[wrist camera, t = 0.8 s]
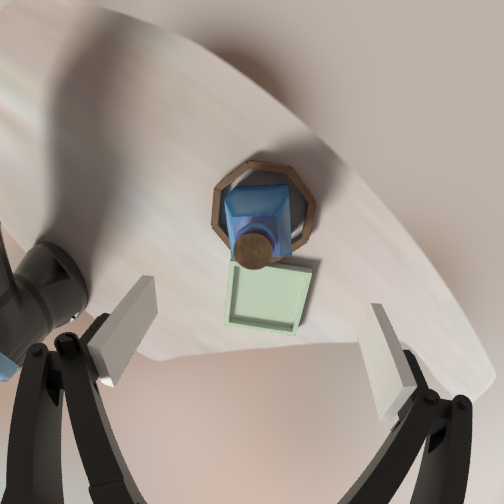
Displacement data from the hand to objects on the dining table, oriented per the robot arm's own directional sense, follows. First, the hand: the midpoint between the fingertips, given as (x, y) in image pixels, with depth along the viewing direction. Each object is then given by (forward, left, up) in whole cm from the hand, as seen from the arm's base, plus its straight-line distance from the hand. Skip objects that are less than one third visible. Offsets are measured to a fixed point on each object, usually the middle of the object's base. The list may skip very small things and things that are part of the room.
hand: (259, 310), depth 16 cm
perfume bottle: (-1, 0, -19) cm, 19 cm away
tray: (+1, -11, -19) cm, 22 cm away
